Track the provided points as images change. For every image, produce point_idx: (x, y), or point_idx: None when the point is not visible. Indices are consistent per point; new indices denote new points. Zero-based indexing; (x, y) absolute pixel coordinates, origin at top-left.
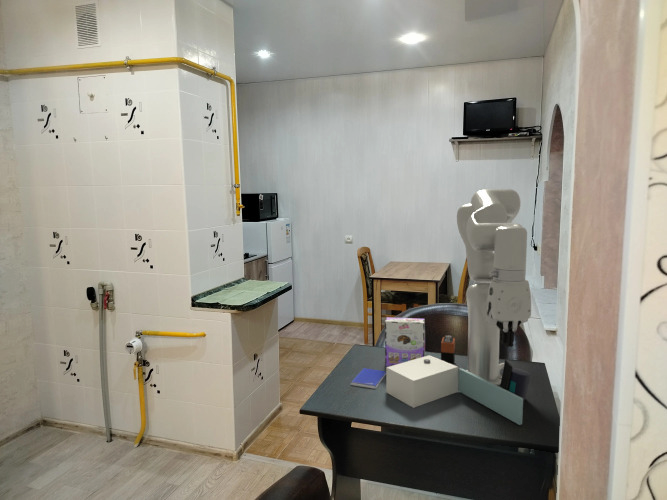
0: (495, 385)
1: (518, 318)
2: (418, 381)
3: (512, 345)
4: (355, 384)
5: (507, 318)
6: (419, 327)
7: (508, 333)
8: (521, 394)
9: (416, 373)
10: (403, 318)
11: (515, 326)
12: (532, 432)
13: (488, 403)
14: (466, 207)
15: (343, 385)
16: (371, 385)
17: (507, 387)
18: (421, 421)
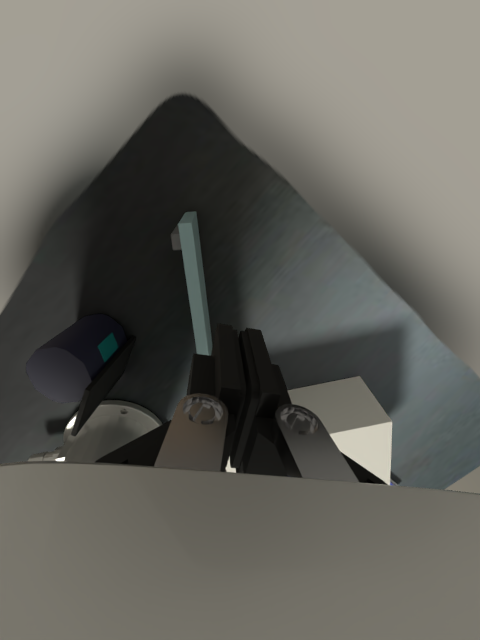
0: (197, 333)
1: (214, 495)
2: (371, 420)
3: (222, 325)
4: (393, 482)
5: (439, 526)
6: None
7: (271, 387)
8: (93, 322)
9: (353, 451)
10: None
11: (192, 430)
12: (183, 171)
13: (208, 320)
14: None
15: (411, 485)
16: None
17: (121, 353)
18: (388, 322)
